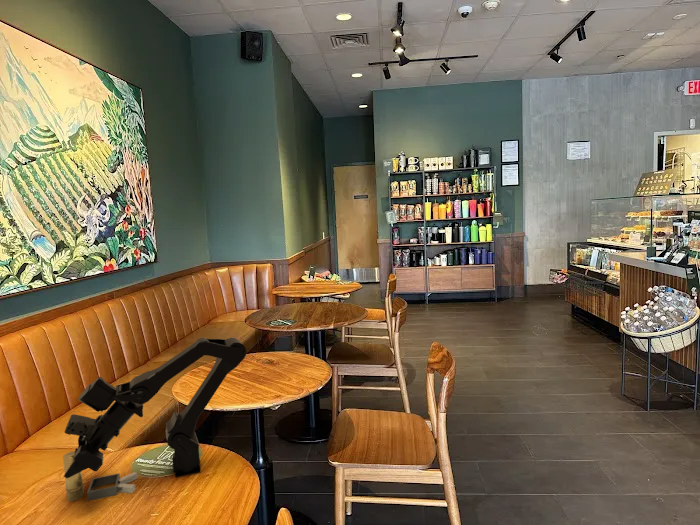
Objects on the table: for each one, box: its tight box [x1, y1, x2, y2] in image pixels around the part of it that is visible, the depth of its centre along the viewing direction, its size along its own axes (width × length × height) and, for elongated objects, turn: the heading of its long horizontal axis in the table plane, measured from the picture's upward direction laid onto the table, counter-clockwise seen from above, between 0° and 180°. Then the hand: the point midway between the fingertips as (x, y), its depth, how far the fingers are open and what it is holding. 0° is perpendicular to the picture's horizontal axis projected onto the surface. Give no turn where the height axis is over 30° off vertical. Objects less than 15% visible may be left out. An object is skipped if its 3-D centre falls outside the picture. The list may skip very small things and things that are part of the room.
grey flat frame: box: [87, 471, 138, 502], centre depth 116 cm, size 11×8×2 cm
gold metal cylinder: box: [62, 450, 85, 502], centre depth 113 cm, size 4×4×11 cm
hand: (66, 473), depth 112 cm, fingers closed on gold metal cylinder, 4 cm apart
